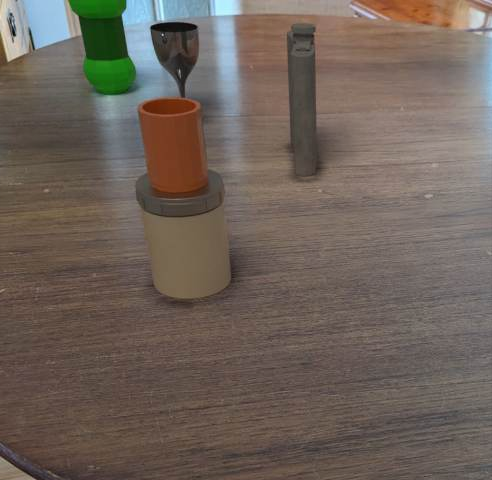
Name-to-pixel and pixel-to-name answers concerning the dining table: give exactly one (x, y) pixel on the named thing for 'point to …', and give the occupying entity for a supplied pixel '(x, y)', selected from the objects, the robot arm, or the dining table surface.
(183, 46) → the wine glass
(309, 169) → the hip flask
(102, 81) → the plastic bottle
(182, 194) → the jar lid
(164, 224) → the jar
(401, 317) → the dining table surface
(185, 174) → the cup
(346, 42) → the dining table surface
